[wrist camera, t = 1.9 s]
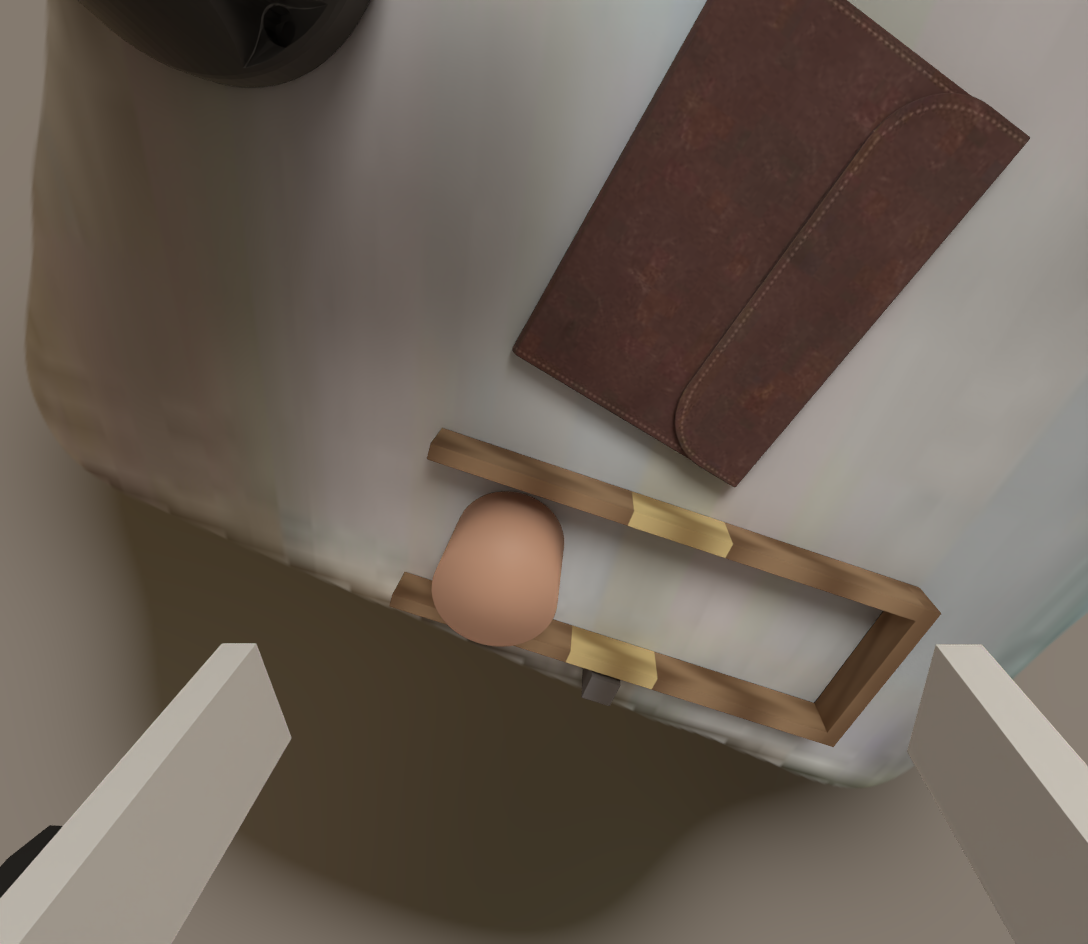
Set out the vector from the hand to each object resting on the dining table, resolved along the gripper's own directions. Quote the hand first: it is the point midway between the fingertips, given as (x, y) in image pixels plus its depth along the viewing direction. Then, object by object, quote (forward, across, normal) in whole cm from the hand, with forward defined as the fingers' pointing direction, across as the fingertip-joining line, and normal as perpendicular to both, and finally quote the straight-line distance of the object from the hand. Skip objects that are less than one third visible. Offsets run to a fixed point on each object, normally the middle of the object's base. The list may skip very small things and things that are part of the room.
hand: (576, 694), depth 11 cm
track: (+22, +3, -15) cm, 27 cm away
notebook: (+23, +8, +6) cm, 25 cm away
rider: (+22, -6, -10) cm, 25 cm away
